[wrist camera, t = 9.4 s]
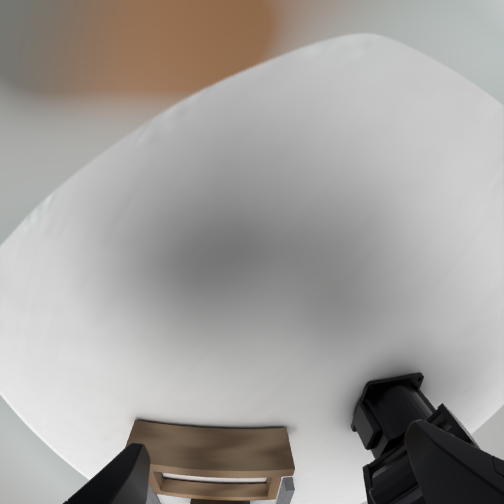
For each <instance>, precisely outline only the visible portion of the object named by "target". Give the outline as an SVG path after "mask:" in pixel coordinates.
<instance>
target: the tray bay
mask: <svg viewBox="0 0 504 504" xmlns="http://www.w3.org/2000/svg"><path fill="white" fill-rule="evenodd" d="M294 490H295V489H294V484H293V479H292V477H291V478H284V479H283V482H282V486H281V490H280V493H279V497H278V500H277V504H290V501H291V499H292V496H293V493H294ZM146 504H160V501H159V499H158V497H157V495H156V494H155V493H154V492H153V490H152V488H151V486H150V484H149V483H148V494H147V501H146Z"/></svg>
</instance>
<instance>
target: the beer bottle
mask: <svg viewBox="0 0 504 504" xmlns="http://www.w3.org/2000/svg"><path fill="white" fill-rule="evenodd" d="M190 504H250V500H208V499H194V498H191V502H190Z"/></svg>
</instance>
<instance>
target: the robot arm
mask: <svg viewBox="0 0 504 504" xmlns="http://www.w3.org/2000/svg"><path fill="white" fill-rule="evenodd" d="M423 378H424V376H423V375H422V374H421V373H417V374H412V375H407V376H402V377H396V378H390V379H384V380H378V381H372V382H369V383H368V384H367V385H366V386H365V389H364V392H363V395H362V398H361V401H360V403H359V405H358V408H357V410H356V413H355V416H354V419H353V423H352V426H351V429H352V431H353V432H358V434H359V436H360V438H361V440H362V443H363V445H364V447H365V449H367V450H371V451H372V454H373V456H374V458H375V460H374V461H373V462H371V463H370V464H367V465H365V466H364V467H363V474H364V475H363V476H364V482H365V488H366V495H367V501H368V504H504V460H501V459H499V458H497V457H495V456H491V455H490V454H488V453H486V452H484V451H482V450H481V449H480V448H479V446H478V445H477V443H476V442H475V441H474V439H473V438H472V436H471V435H470V433H469V432H468V431H467V430H466V428H465V427H464V426H463V425H462V424H461V422H460V421H459V420H458V419H457V418H456V417H455V416H454V415H453V413H452V412H451V411H450V410H449V409H448V408H447V407H446V406H445V405H444V404H443V403H442V404H441V405H440V406H439V407H438V409H437V410H436V409H435V408H434V407H433V406H432V404H431V403H430V402H429V401H428V399H427V398H426V397H425V396H424V394H423V393H422V392H421V391H420V390H419V388H420V386H421V383H422V381H423ZM370 387H371V388H370ZM149 472H150V456H149V454H148V451H147V449H146V446H145V445H144V444H143V443H138V442H131V443H130V444H129V445H128V446H127V447H126V448H125V449H124V450H123V451H121V452H120V453H119V454H118V455H117V456H116V457H115V458H114V459H113V460H112V461H111V462H110V463H109V464H107V465H106V466H105V467H104V468H103V469H102V470H101V471H100V472H99V473H98V474H96V475H95V476H94V477H93V478H92V479H91V480H90V481H89V482H87V484H85V485H84V486H83V487H82V488H81V489H79V490H78V491H77V492H76V493H75V494H74V495H72V496H71V497H70V498H69V499H68V501H65V502H64V503H63V504H146V501H147V494H148V483H149Z"/></svg>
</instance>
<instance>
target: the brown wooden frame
mask: <svg viewBox="0 0 504 504" xmlns="http://www.w3.org/2000/svg"><path fill="white" fill-rule="evenodd" d="M131 442H138V443H143V444H144V445H145V446H146V449H147V451H148V454H149V456H150V472H149V484H150V486H151V488H152V490H153V492H154V493H155V494H161V495H168V496H176V497H184V498H194V499H208V500H272V499H276V496H277V493H278V489H279V485H280V481H281V477H282V476H293V474H294V470H295V466H294V462H293V457H292V452H291V447H290V443H289V438H288V433H287V428H272V429H219V428H200V427H187V426H176V425H167V424H159V423H151V422H145V421H138V420H135V422H134V425H133V427H132V430H131V433H130V436H129V439H128V441H127V444H126V447H127V446H128V445H129V444H130V443H131ZM126 447H125V448H126ZM161 472H163V473H170V474H178V475H188V476H200V477H217V478H265V477H267V482H266V484H214V483H198V482H187V481H178V480H170V479H163V477H162V474H161Z"/></svg>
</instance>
